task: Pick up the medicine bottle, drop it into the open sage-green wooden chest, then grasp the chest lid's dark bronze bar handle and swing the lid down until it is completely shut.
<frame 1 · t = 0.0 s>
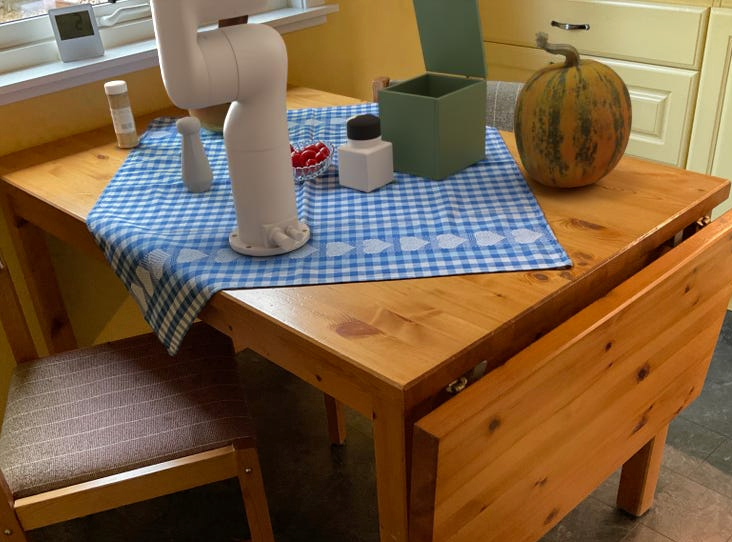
medicine bottle: (366, 184, 143), on the table
ceramic pitcher: (236, 127, 181), on the table
salt shaker: (199, 190, 147), on the table
chest: (433, 162, 150), on the table
lid: (457, 27, 143), point 23 cm above the table, hinge at 75.0°
pumpkin: (567, 182, 138), on the table
sprinkles bottle: (129, 146, 174), on the table
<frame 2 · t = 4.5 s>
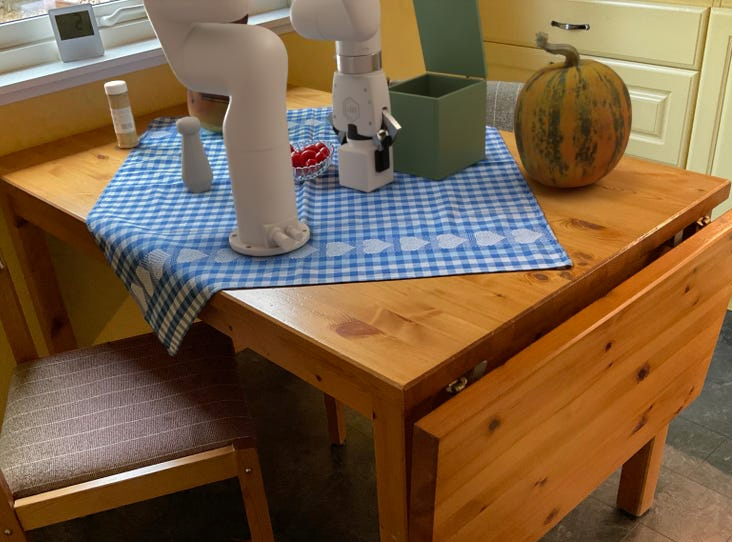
hand: (365, 165, 142), 3 cm above the table, tool pointing down, fingers closed on medicine bottle, 7 cm apart
medicine bottle: (366, 184, 143), on the table, touching gripper
everything else where it was.
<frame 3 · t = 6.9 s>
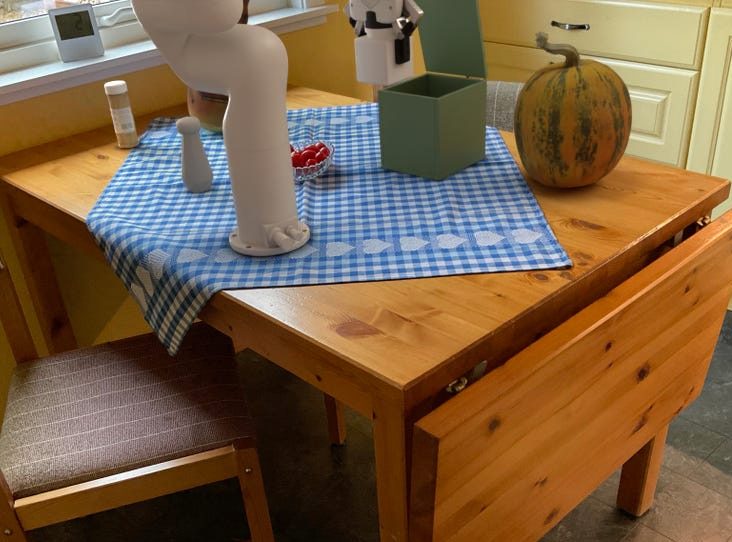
hand: (384, 59, 135), 21 cm above the table, tool pointing down, fingers closed on medicine bottle, 7 cm apart
medicine bottle: (385, 81, 137), point 17 cm above the table, touching gripper
everything else where it was.
when the fingers open (16 cm above the table, at t = 9.5 s): medicine bottle drops 12 cm, resting on chest.
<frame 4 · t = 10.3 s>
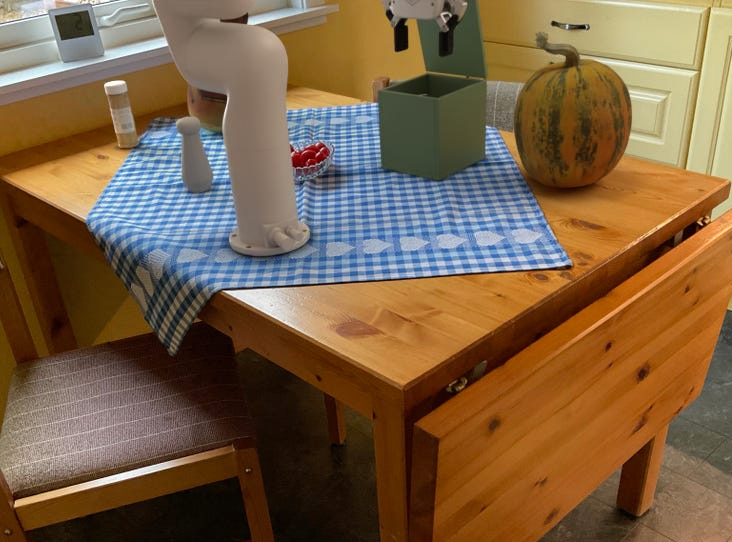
hand: (423, 53, 138), 20 cm above the table, tool pointing down, fingers open, 9 cm apart
medicine bottle: (427, 163, 149), point 1 cm above the table, touching chest
everything else where it was.
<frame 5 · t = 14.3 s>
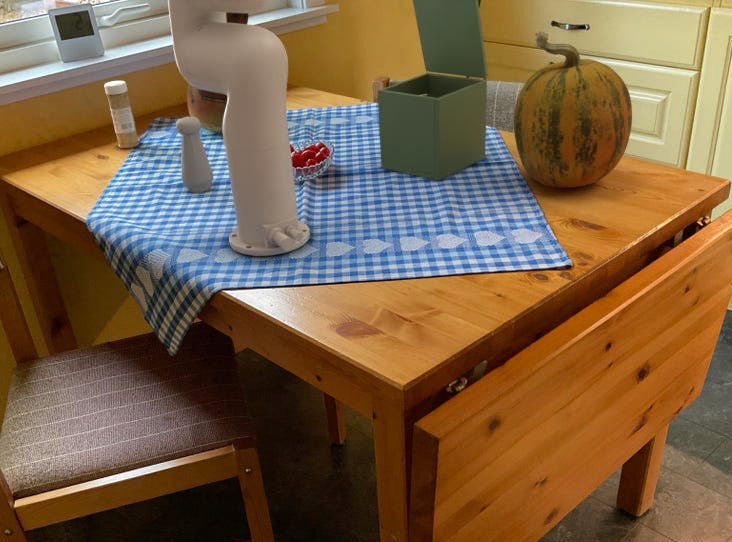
hand: (458, 7, 141), 26 cm above the table, tool pointing down, fingers closed on lid, 5 cm apart
lid: (457, 27, 143), point 23 cm above the table, hinge at 75.0°, touching gripper
everything else where it was.
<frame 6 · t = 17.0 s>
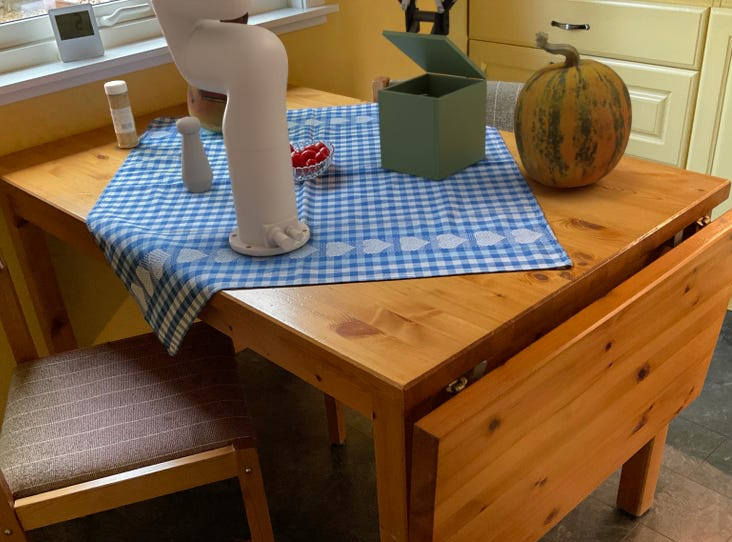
hand: (427, 34, 137), 23 cm above the table, tool pointing down, fingers closed on lid, 5 cm apart
lid: (440, 42, 141), point 21 cm above the table, hinge at 35.8°, touching gripper
everything else where it was.
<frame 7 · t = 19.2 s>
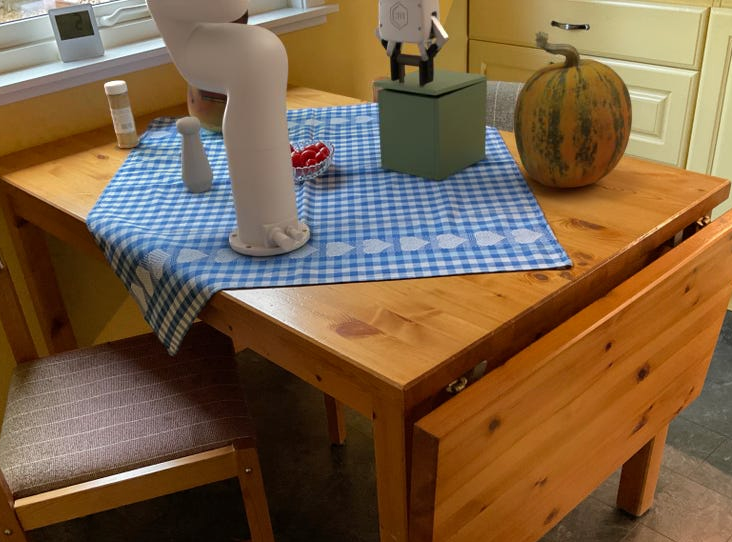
hand: (412, 80, 138), 16 cm above the table, tool pointing down, fingers closed on lid, 5 cm apart
lid: (431, 66, 141), point 18 cm above the table, hinge at 3.0°, touching gripper
everything else where it was.
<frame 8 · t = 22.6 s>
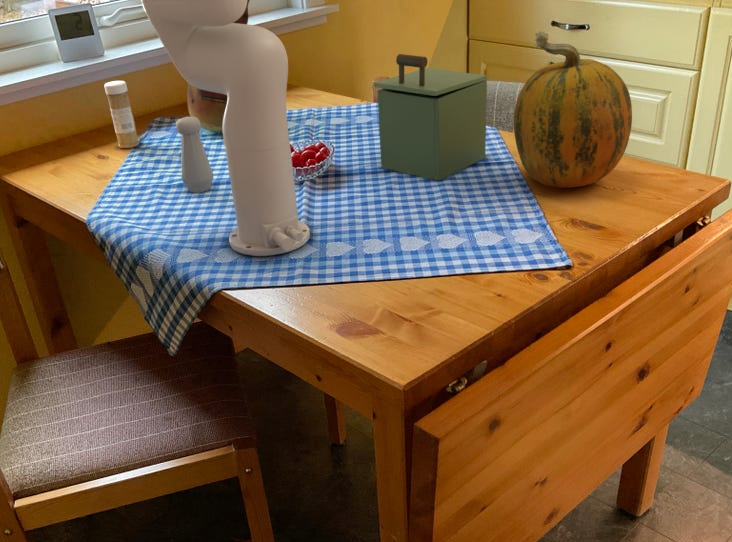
lid: (431, 67, 141), point 17 cm above the table, hinge at 2.6°
everything else where it was.
at the end: medicine bottle inside the target area in the chest (2.2 cm from its centre), point 0.6 cm above the chest's base; lid at +3° (first picture: +75°) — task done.
